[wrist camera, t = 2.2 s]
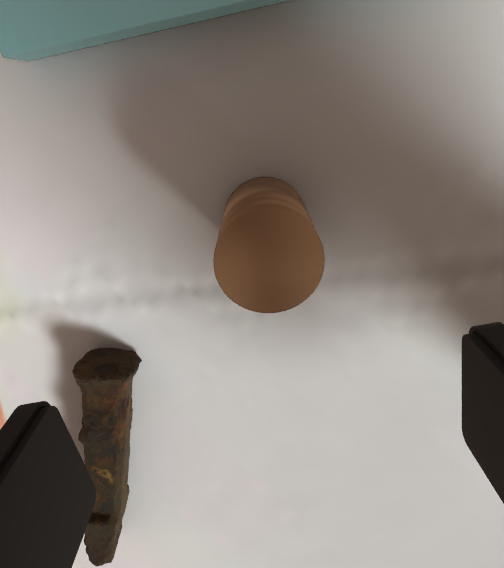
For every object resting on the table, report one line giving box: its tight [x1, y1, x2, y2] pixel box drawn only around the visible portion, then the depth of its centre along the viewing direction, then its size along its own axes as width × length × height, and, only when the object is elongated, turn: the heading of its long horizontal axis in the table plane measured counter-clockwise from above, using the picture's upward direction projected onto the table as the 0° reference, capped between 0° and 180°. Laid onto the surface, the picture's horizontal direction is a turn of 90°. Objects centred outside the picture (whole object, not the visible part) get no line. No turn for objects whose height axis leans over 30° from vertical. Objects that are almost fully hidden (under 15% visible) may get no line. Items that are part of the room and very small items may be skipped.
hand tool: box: [72, 348, 142, 566], centre depth 32 cm, size 19×4×5 cm, turn 170°
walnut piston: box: [213, 177, 325, 313], centre depth 23 cm, size 5×5×8 cm
